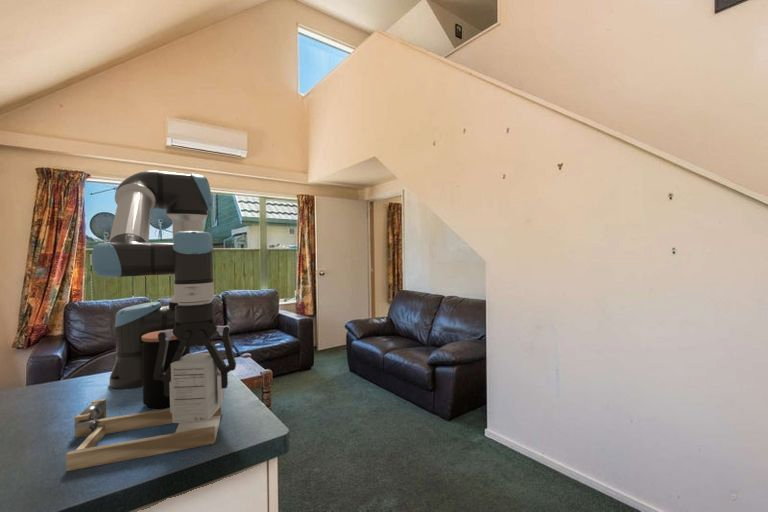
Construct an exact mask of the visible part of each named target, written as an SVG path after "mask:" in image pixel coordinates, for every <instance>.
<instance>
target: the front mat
mask: <svg viewBox="0 0 768 512" xmlns="http://www.w3.org/2000/svg"><path fill="white" fill-rule="evenodd" d="M221 416H222V414H221V415H218V416H212V417H211V418H210V419H209V420H208V421H207V422H190V423H178V425H177V428H176V430H175V432H174V433H178V432H184V431H190V430H196V429H202V428H208V427H213V426H215V440H216V439H217V435H218V430H219V425H220V421H221Z"/></svg>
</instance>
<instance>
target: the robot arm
mask: <svg viewBox="0 0 768 512" xmlns="http://www.w3.org/2000/svg"><path fill="white" fill-rule="evenodd" d="M212 198H213V197H212V191H211V186H210V183H209V180H208V178H207V177H206V176H204V175H203V174H197V173H196V174H195V173H188V172H175V171H162V170H161V171H160V170H145V171H140V172H137V173H134V174H132V175H130V176H129V177H127V178H125V179H124V180H123V181H121V182H120V184H119V185H118V186H117V187H116V190H115V194H114V201H115V203H116V209H115V213H114V218H113V223H112V227H111V231H110V234H109V240H108V241H105V242H98V243H95V244H94V245H93V247H92V251H91V252H92V254H91V261H92V269H93V272H94V274H95V275H96V276H97V277H100V278H104V277H105V278H124V277H140V276H141V277H143V276H166V275H167V276H169V275H173V296H171V297H170V298H169V300H168V305H162V303H161V302H160V301H154V302H152V301H151V302H145V303H140V304H134V305H130V306H127V307H123V308H121V309H119V310H118V311H117V312H116V314H115V321H114V322H115V324H114V328H115V351H116V352H115V354H116V356H115V358H116V359H115V361H114V364H113V367H112V370H111V373H110V376H109V387H110V388H112V389H121V390H122V389H134V388H139V387H140V388H141V387H143V376H142V345H143V344H144V342H143V341H142V336H143V335H144V334H147V333H151V332H155V331H161V330H163V331H161V332H160V333H159V334H158V339H159V349H158V354H157V360H156V365H155V370H154V375H153V379H154V380H162V381H163V382H164V395H165V397H166V396H170V408H169V409H170V413H172V394H171V363H173V362H175V361H179V360H180V358H181V356H182V354H183V352H184V350H185V348H186V346H187V347H190V348H191V347H194V346H197V347H198V346H200V347H201V346H204V347H205V349H206V350H207V351H208V352H207V353H210V355H211V357H212V358H213V360H214V362H215V364H216V366H217V367H218V369H219V371H220V372H218V375H217V389H218V406H219V405H221V406H222V405H223V401H224V396H223V395H224V394H223V393H224V391H223V390H224V389H227V388H228V385H229V382H228V381H229V379H228V378H229V377H228V374H229V372H232V371H235V369H236V366H237V363H236V358H235V353H234V349H233V346H232V342H231V338H230V331H231V326H230V325H229V324H226V325H217V323H216V321H215V319H216V318H215V303H214V302H213V300H215V286H214V285H215V283H214V282H215V281H214V275H213V274H214V255H213V253H214V251H213V250H214V244H213V235H212V234H211V233H210V232H208V231H203V230H204V228H203V226H204V224H203V223H204V220H205V219H206V218H207V217H208V216H209V214H208V212H212V211H213V199H212ZM153 209H157V210H158V209H160V210H165V211H166V213H165V214H166V217H168V218H169V219H170V220H171V223H172V226H171V228H172V242H149V240H150V229H151V228H150V226H151V213H152V210H153ZM170 329H173V330H170ZM166 330H168V331H166ZM216 332H218V334H219V336H221V337H222V338H221V339H222V344H223V347H224V352H225V355H226V359H227V363H228V364H227V363H226V362H225V361H224V358H223V357H222V355H221V354H220V352H219V349H218V348H217V346H216V344H215V342H214V341H213V338H212V337H213V335H214V334H215V333H216ZM172 335H175V336H176V338H177V339H178V340H179V341H180V344H179V346H178V348H177V351H176V353H175V355H174V357H173V359H172V361H171V363H170V365H169V368H168V370H167V372H166V373H165V372H163V369H164V364H165V359H166V354H167V349H168V344H169V340H170V339H171V338H172Z"/></svg>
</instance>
